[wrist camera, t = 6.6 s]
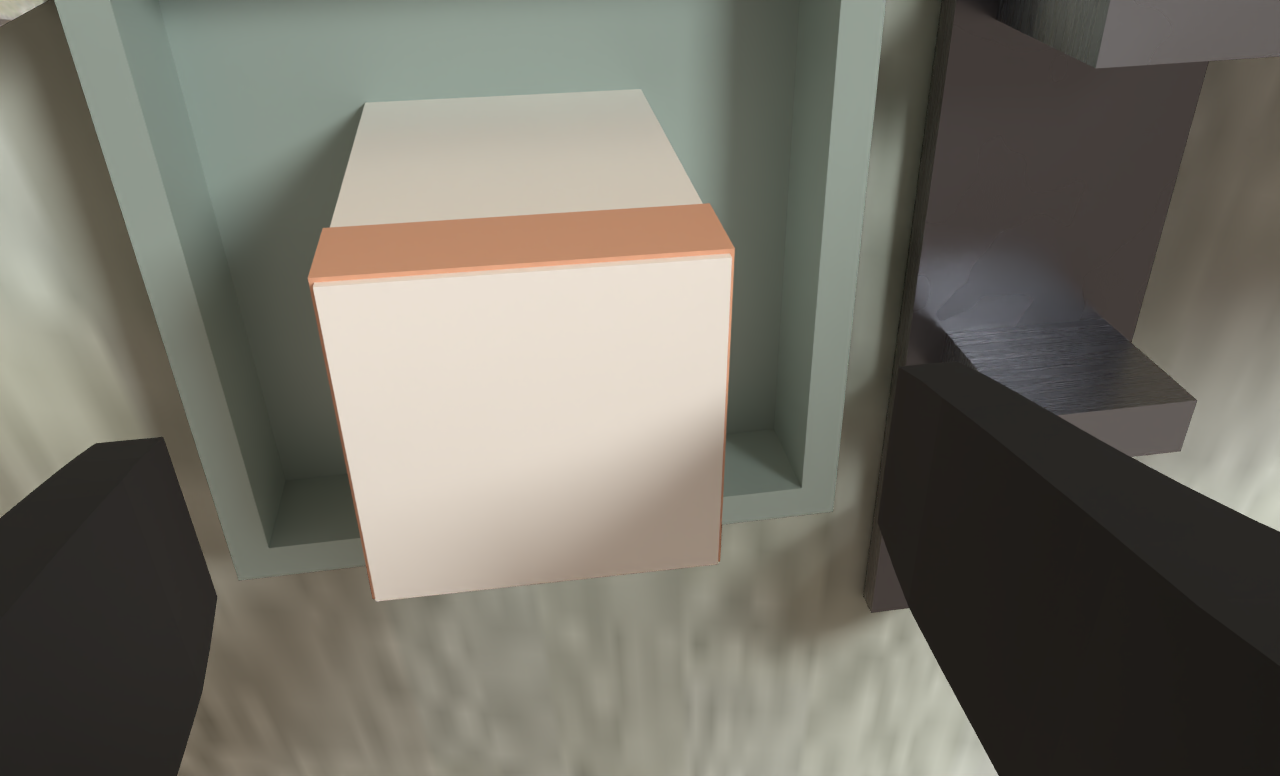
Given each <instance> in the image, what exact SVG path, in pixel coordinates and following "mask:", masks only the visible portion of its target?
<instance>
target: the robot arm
mask: <svg viewBox="0 0 1280 776" xmlns="http://www.w3.org/2000/svg"><path fill="white" fill-rule="evenodd" d="M878 525H879V528H880V531H881V534H882V537H883V539H884V542H885V545H886V548H887V551H888V554H889V556H890V559H891V562H892V565H893V568H894V570H895V573H896V576H897V578H898V581H899V583H900V586H901V589H902V591H903V594H904V596H905V599H906V601H907V604H908V606H909V608H910V610H911V612H912V614H913V616H914V618H915V620H916V622H917V624H918V626H919V628H920V630H921V632H922V633H923V635H924V637H925V639H926V641H927V643H928V645H929V647H930V649H931V650H932V652H933V654H934V656H935V658H936V660H937V662H938V664H939V666H940V668H941V669H942V671H943V673H944V675H945V677H946V679H947V681H948V682H949V684H950V686H951V688H952V690H953V692H954V694H955V695H956V697H957V699H958V701H959V703H960V705H961V707H962V708H963V710H964V712H965V714H966V716H967V718H968V720H969V721H970V723H971V725H972V727H973V729H974V731H975V732H976V734H977V736H978V738H979V740H980V742H981V744H982V745H983V747H984V749H985V751H986V753H987V755H988V757H989V758H990V760H991V762H992V764H993V766H994V768H995V770H996V771H997V773H998V775H999V776H1280V532H1279V531H1277V530H1275V529H1272V528H1270V527H1268V526H1266V525H1264V524H1261V523H1259V522H1257V521H1255V520H1253V519H1251V518H1249V517H1247V516H1245V515H1243V514H1241V513H1239V512H1237V511H1235V510H1233V509H1231V508H1229V507H1227V506H1225V505H1223V504H1221V503H1219V502H1217V501H1215V500H1212V499H1210V498H1208V497H1206V496H1204V495H1202V494H1200V493H1198V492H1196V491H1194V490H1192V489H1190V488H1188V487H1186V486H1184V485H1182V484H1180V483H1179V482H1177V481H1175V480H1173V479H1171V478H1169V477H1167V476H1165V475H1163V474H1162V473H1160V472H1158V471H1156V470H1154V469H1152V468H1150V467H1148V466H1146V465H1145V464H1143V463H1141V462H1139V461H1137V460H1135V459H1134V458H1132V457H1130V456H1128V455H1126V454H1124V453H1123V452H1121V451H1119V450H1117V449H1115V448H1114V447H1112V446H1110V445H1108V444H1107V443H1105V442H1103V441H1101V440H1099V439H1098V438H1096V437H1094V436H1092V435H1090V434H1089V433H1087V432H1085V431H1083V430H1082V429H1080V428H1078V427H1076V426H1075V425H1073V424H1071V423H1069V422H1068V421H1066V420H1064V419H1062V418H1061V417H1059V416H1057V415H1055V414H1054V413H1052V412H1050V411H1048V410H1047V409H1045V408H1043V407H1041V406H1040V405H1038V404H1036V403H1035V402H1033V401H1031V400H1029V399H1028V398H1026V397H1024V396H1022V395H1020V394H1019V393H1017V392H1015V391H1013V390H1012V389H1010V388H1008V387H1006V386H1004V385H1003V384H1001V383H999V382H997V381H995V380H994V379H992V378H990V377H988V376H986V375H984V374H982V373H980V372H978V371H976V370H974V369H972V368H970V367H968V366H966V365H964V364H962V363H960V362H957V361H951V362H941V363H930V364H920V365H909V366H899V368H898V376H897V383H896V391H895V398H894V405H893V413H892V420H891V427H890V435H889V442H888V449H887V457H886V464H885V471H884V479H883V486H882V493H881V501H880V508H879V515H878ZM216 603H217V595H216V592H215V589H214V586H213V583H212V580H211V577H210V574H209V571H208V568H207V565H206V562H205V559H204V556H203V553H202V550H201V547H200V544H199V541H198V539H197V536H196V533H195V530H194V527H193V524H192V521H191V518H190V515H189V512H188V509H187V506H186V503H185V500H184V497H183V494H182V491H181V488H180V485H179V482H178V480H177V477H176V474H175V471H174V468H173V465H172V462H171V459H170V456H169V453H168V450H167V447H166V444H165V441H164V438H163V437H158V438H147V439H137V440H126V441H116V442H106V443H96V444H94V445H93V446H91V447H90V448H88V449H87V450H86V451H84V452H83V453H81V454H80V455H78V456H77V457H76V458H74V459H73V460H72V461H70V462H69V463H68V464H66V465H65V466H64V467H63V468H61V469H60V470H59V471H58V472H56V473H55V474H54V475H52V476H51V477H50V478H49V479H47V480H46V481H45V482H44V483H43V484H41V485H40V486H39V487H38V488H36V489H35V490H34V491H33V492H31V493H30V494H29V495H28V496H27V497H25V498H24V499H23V500H22V501H20V502H19V503H18V504H17V505H16V506H14V507H13V508H12V509H11V510H10V511H8V512H7V513H6V514H5V515H3V516H2V517H1V518H0V776H177V774H178V771H179V768H180V764H181V761H182V758H183V754H184V751H185V748H186V744H187V741H188V738H189V735H190V731H191V728H192V725H193V721H194V718H195V715H196V711H197V708H198V704H199V701H200V698H201V694H202V690H203V684H204V679H205V673H206V667H207V662H208V656H209V650H210V644H211V637H212V630H213V623H214V616H215V609H216Z"/></svg>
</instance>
